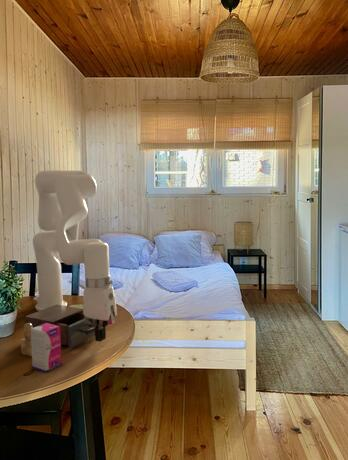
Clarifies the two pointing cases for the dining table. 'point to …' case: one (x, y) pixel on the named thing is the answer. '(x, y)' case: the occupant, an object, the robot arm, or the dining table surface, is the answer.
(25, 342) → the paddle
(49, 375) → the dining table surface
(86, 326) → the drawer
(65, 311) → the cabinet
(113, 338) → the dining table surface
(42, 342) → the supplement box
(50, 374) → the dining table surface
